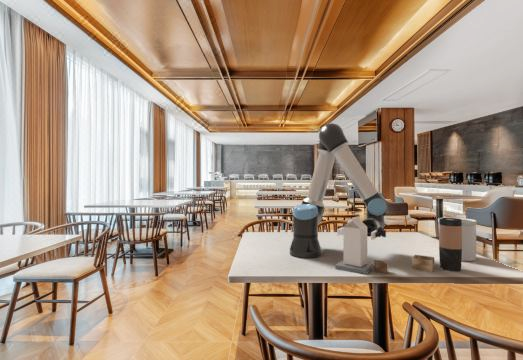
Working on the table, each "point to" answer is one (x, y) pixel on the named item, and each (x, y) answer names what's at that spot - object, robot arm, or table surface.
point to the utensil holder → (468, 239)
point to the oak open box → (423, 263)
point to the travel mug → (450, 243)
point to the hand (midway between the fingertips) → (354, 234)
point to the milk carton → (355, 243)
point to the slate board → (355, 267)
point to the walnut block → (380, 267)
